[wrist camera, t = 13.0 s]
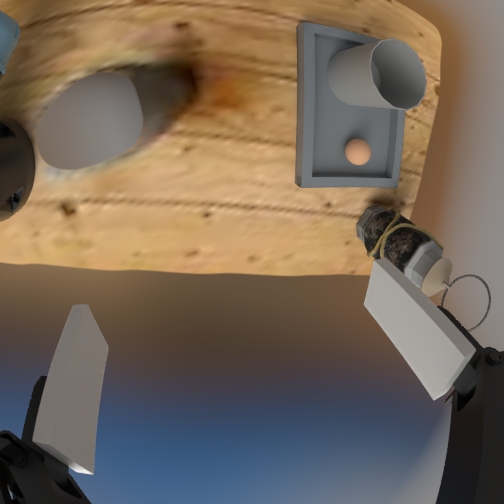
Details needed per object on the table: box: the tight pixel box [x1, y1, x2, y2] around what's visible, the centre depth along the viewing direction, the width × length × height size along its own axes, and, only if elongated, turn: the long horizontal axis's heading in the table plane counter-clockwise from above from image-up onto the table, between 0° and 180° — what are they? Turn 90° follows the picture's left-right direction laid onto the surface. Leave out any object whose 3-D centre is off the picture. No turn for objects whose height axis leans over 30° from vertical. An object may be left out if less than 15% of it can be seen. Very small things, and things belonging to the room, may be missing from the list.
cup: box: [326, 38, 427, 111], centre depth 26 cm, size 8×8×10 cm
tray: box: [295, 22, 405, 188], centre depth 32 cm, size 16×22×2 cm
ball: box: [345, 139, 371, 165], centre depth 34 cm, size 4×4×4 cm
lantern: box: [356, 206, 491, 332], centre depth 32 cm, size 9×8×25 cm
